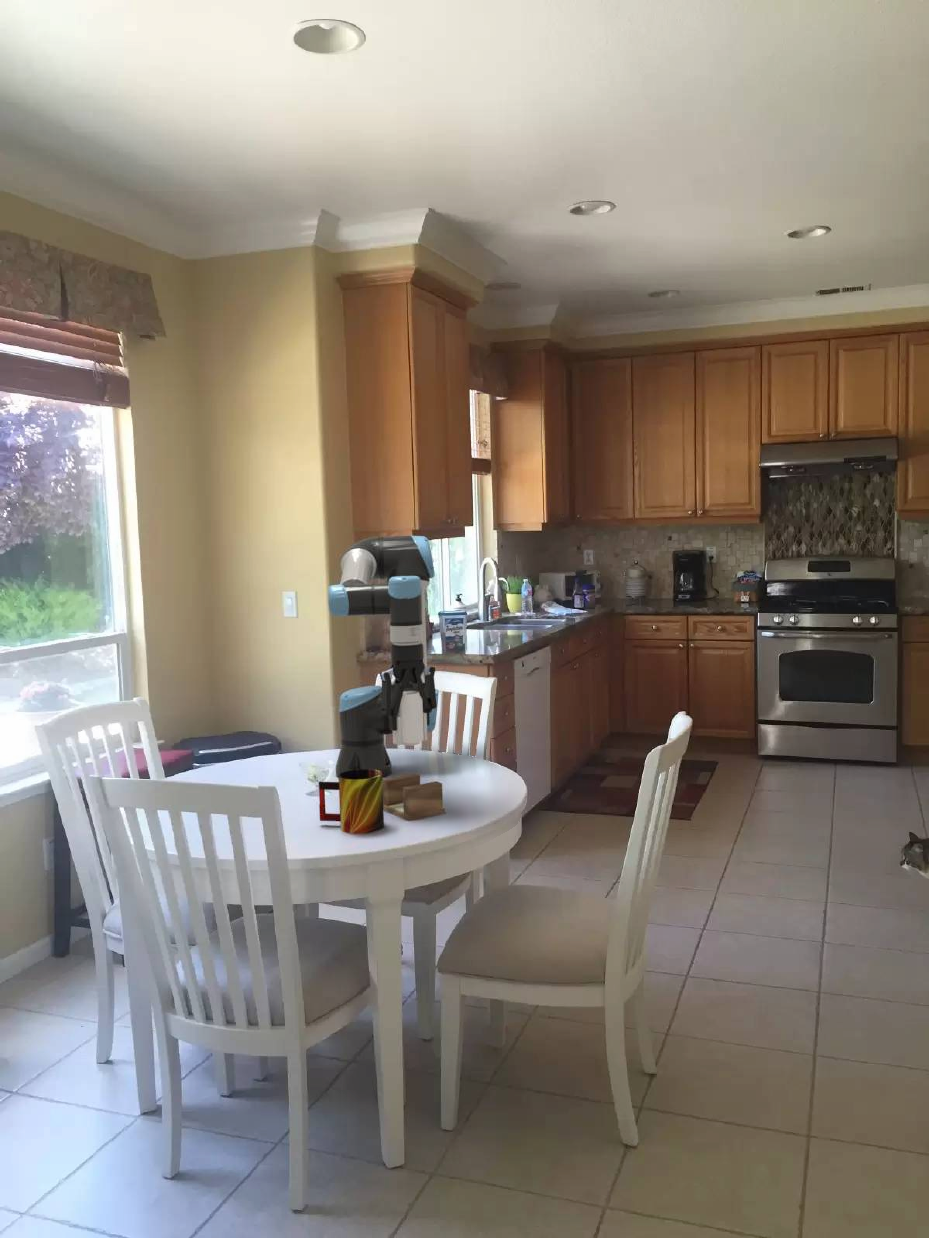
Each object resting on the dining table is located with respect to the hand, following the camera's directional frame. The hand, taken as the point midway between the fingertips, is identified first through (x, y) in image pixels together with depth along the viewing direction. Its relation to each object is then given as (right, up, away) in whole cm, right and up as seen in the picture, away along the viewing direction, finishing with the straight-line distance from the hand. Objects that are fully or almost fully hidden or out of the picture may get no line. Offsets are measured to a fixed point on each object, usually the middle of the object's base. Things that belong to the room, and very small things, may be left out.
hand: (410, 741), depth 238 cm
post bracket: (0, -16, +1) cm, 16 cm away
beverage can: (0, -1, 0) cm, 1 cm away
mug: (-12, -18, -11) cm, 24 cm away
